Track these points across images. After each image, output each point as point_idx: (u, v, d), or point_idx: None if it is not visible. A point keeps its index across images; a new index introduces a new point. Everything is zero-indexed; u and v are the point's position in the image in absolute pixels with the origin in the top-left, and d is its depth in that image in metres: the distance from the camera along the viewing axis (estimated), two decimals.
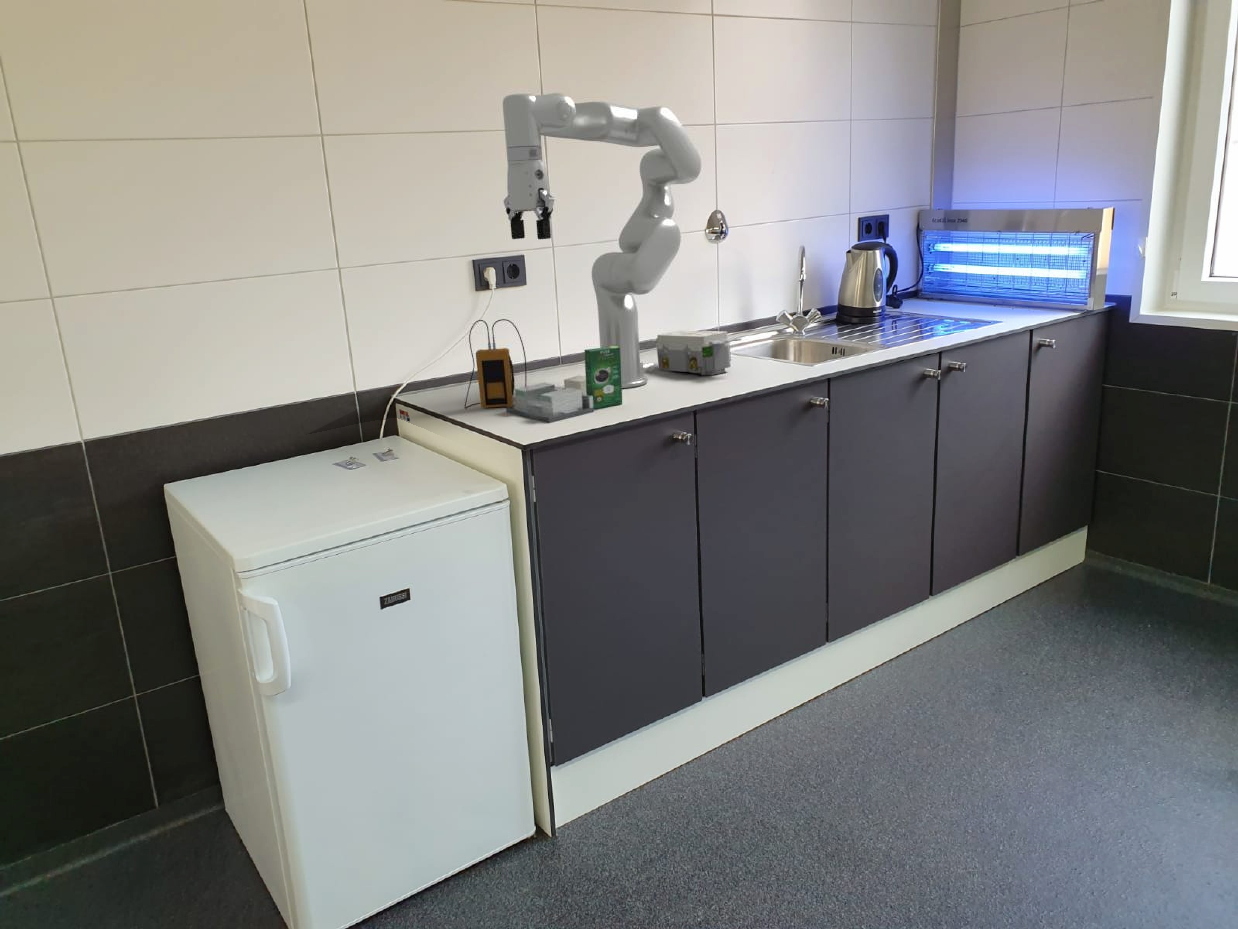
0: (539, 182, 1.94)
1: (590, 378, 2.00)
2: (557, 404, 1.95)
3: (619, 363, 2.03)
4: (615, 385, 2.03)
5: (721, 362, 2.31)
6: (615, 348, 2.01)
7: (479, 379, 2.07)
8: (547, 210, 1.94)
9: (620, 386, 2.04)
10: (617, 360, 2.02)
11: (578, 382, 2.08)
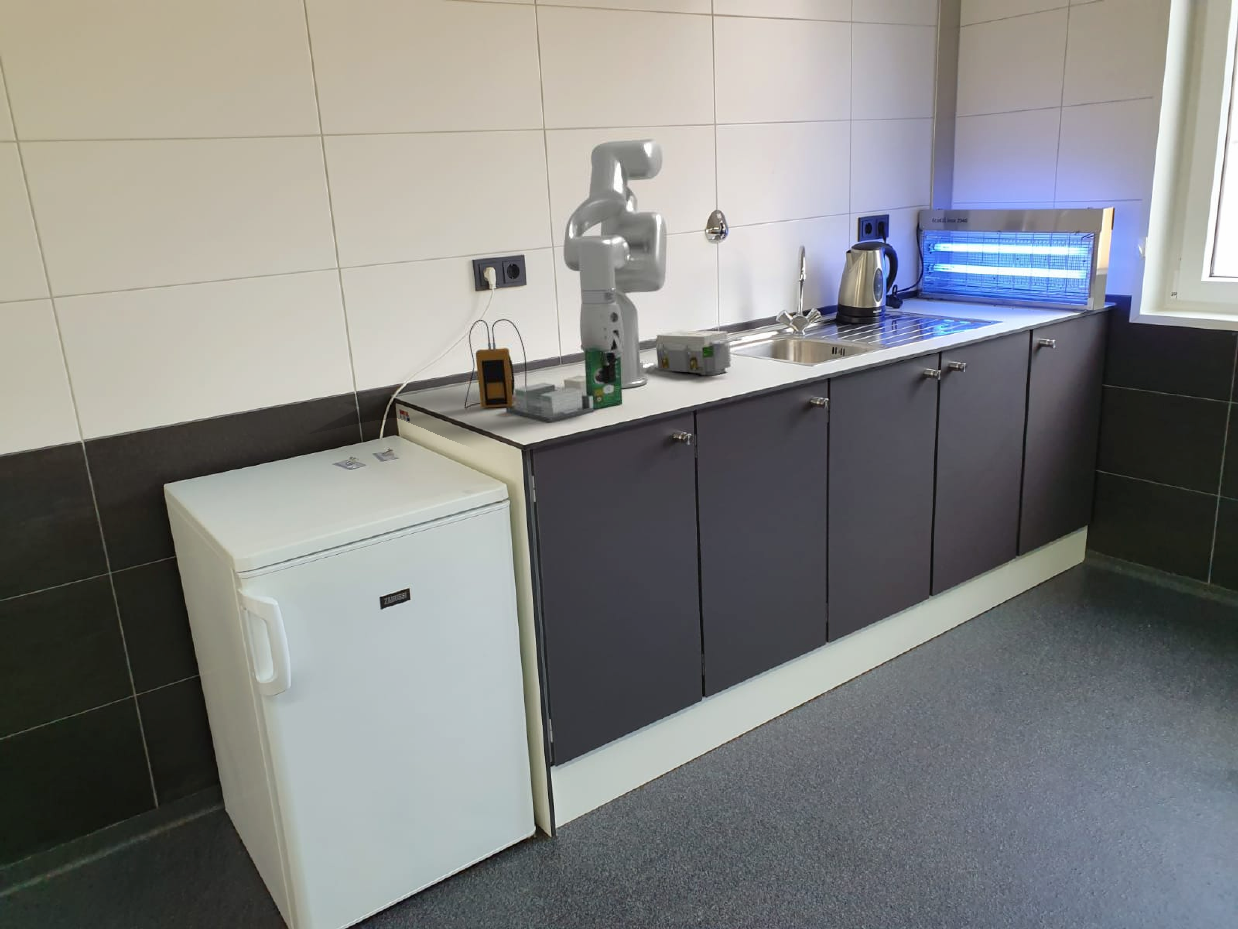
0: (614, 325, 1.96)
1: (590, 378, 2.00)
2: (557, 404, 1.95)
3: (619, 363, 2.03)
4: (615, 385, 2.03)
5: (721, 362, 2.31)
6: None
7: (479, 379, 2.07)
8: (613, 358, 1.98)
9: (620, 386, 2.04)
10: (617, 360, 2.02)
11: (578, 382, 2.08)
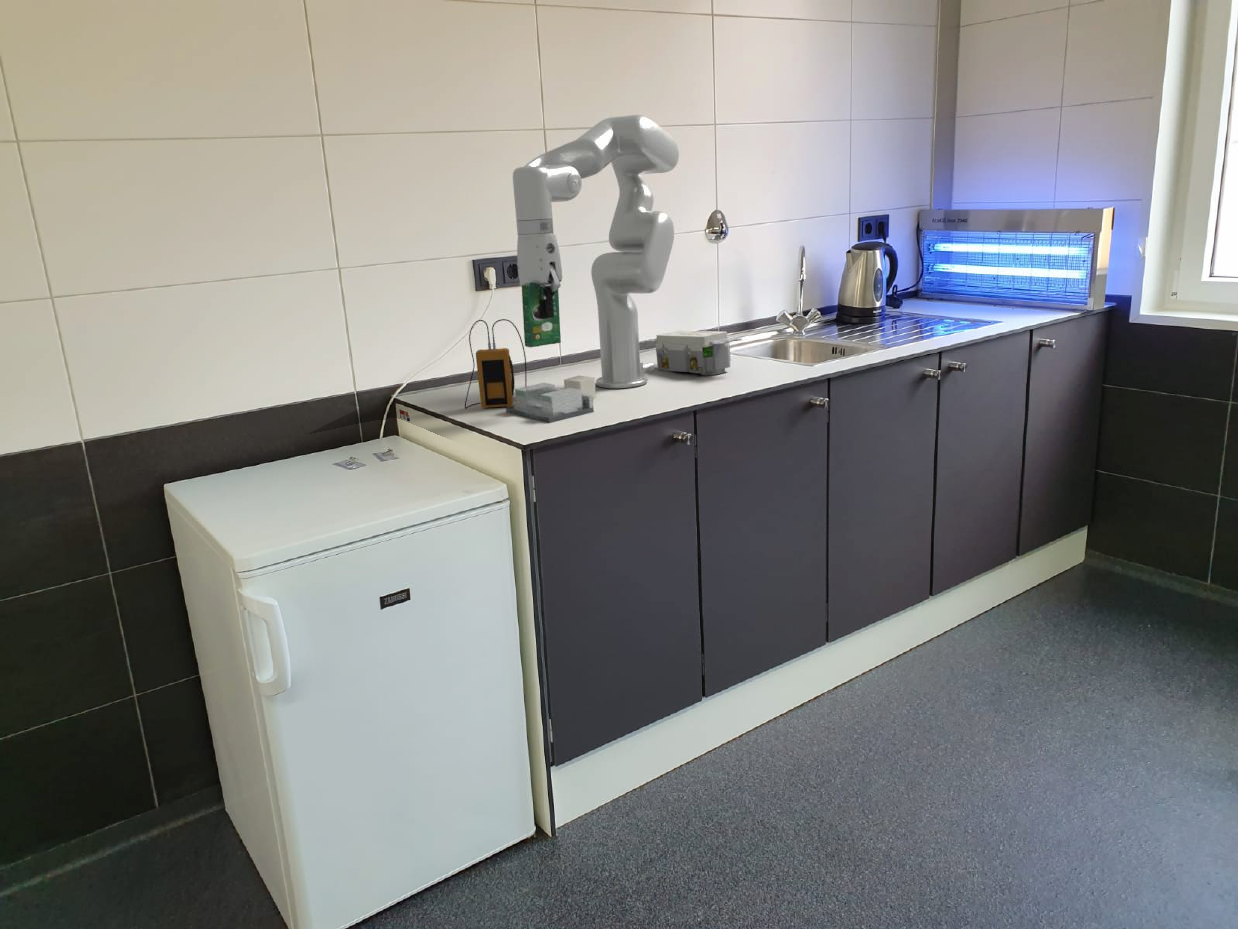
0: (550, 256, 1.89)
1: (528, 314, 1.93)
2: (557, 404, 1.95)
3: (557, 300, 1.96)
4: (553, 322, 1.97)
5: (721, 362, 2.31)
6: None
7: (479, 379, 2.07)
8: (550, 292, 1.91)
9: (558, 324, 1.98)
10: (555, 296, 1.96)
11: (578, 382, 2.08)
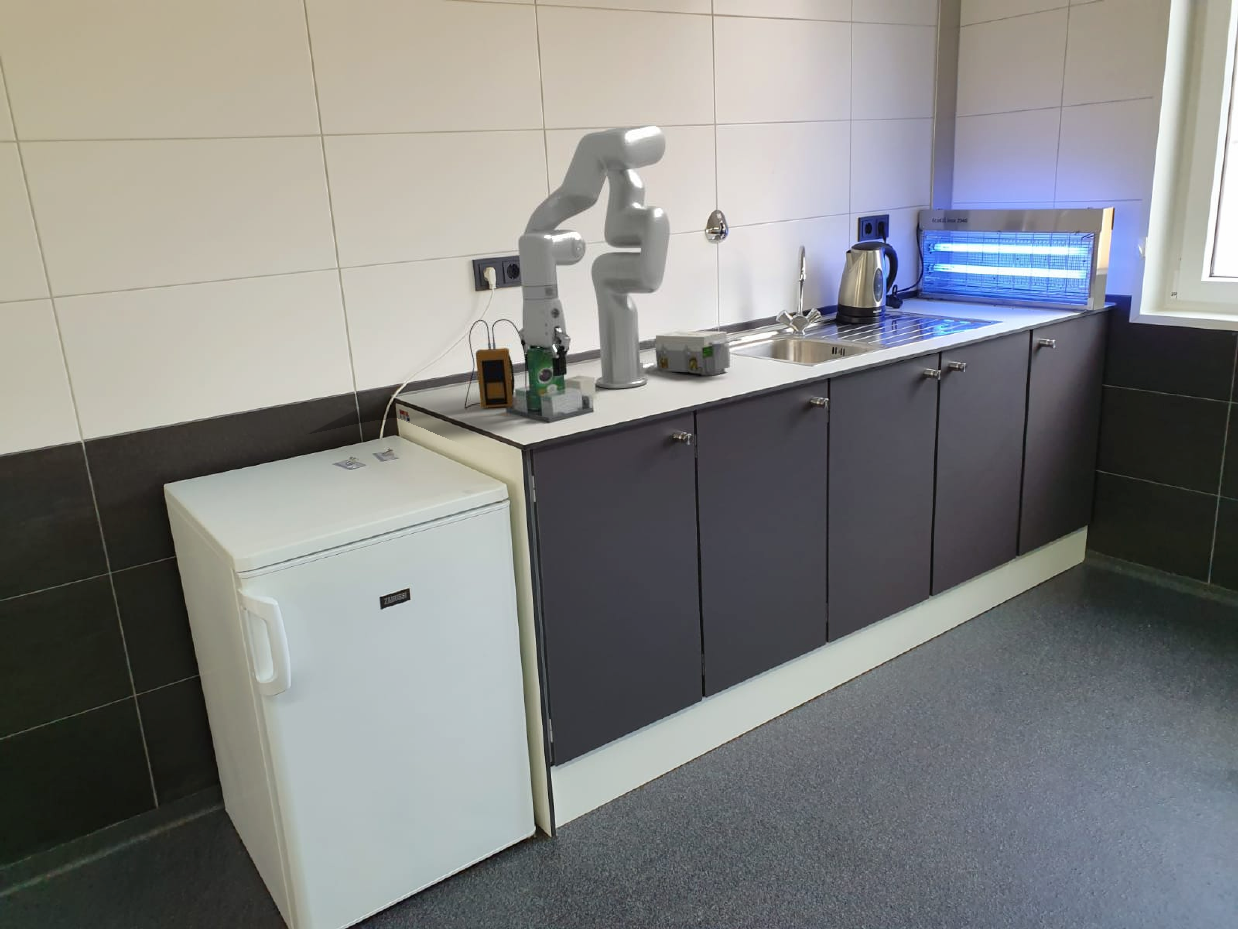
0: (555, 321, 1.93)
1: (534, 378, 1.97)
2: (557, 404, 1.95)
3: None
4: (558, 384, 2.01)
5: (721, 362, 2.30)
6: None
7: (479, 379, 2.07)
8: (563, 349, 1.92)
9: (563, 385, 2.02)
10: None
11: (578, 382, 2.08)
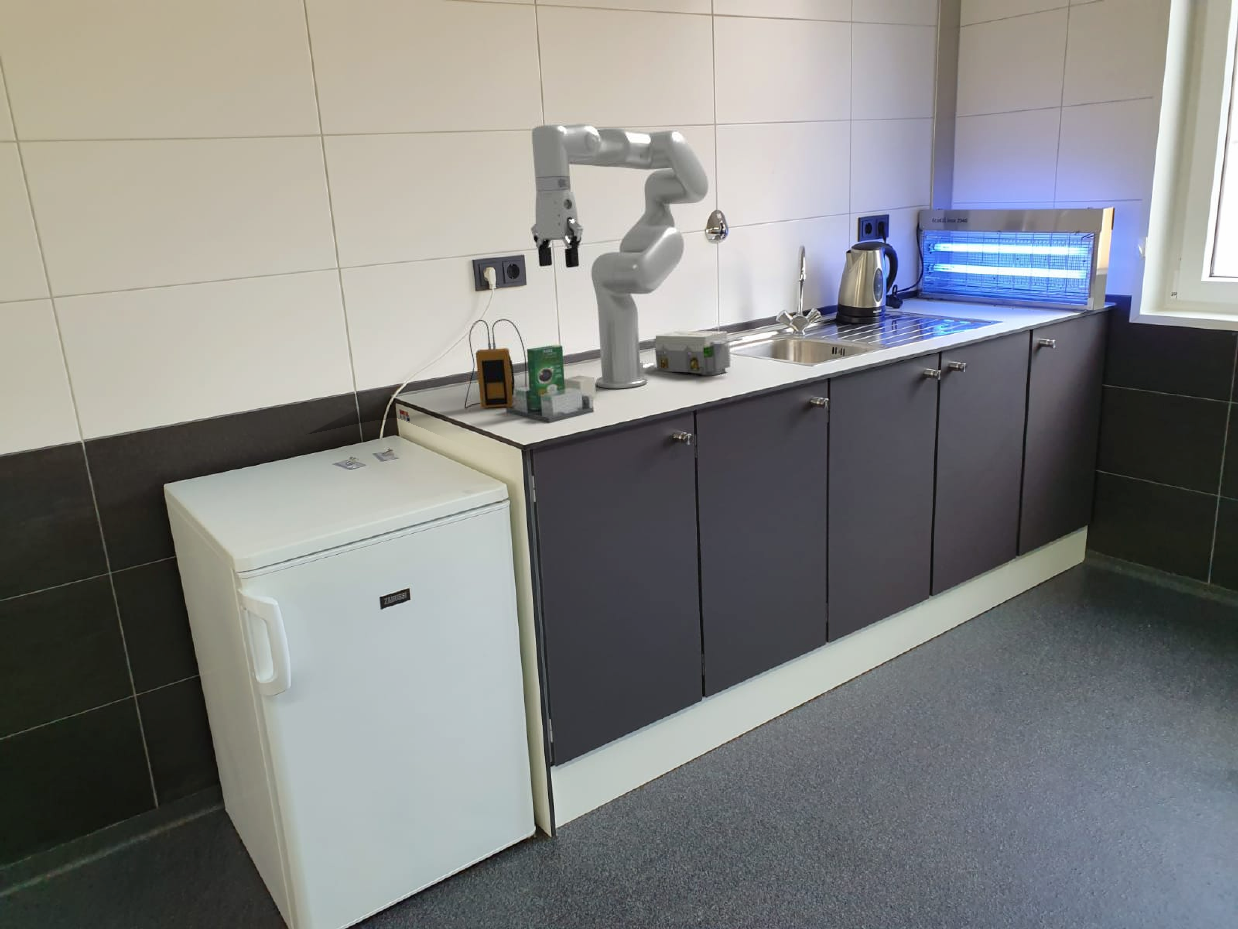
0: (568, 211, 1.97)
1: (534, 378, 1.97)
2: (557, 404, 1.95)
3: (562, 362, 2.00)
4: (558, 384, 2.01)
5: (722, 362, 2.31)
6: (557, 347, 1.99)
7: (479, 379, 2.07)
8: (576, 239, 1.96)
9: (563, 385, 2.02)
10: (560, 359, 2.00)
11: (578, 382, 2.08)
